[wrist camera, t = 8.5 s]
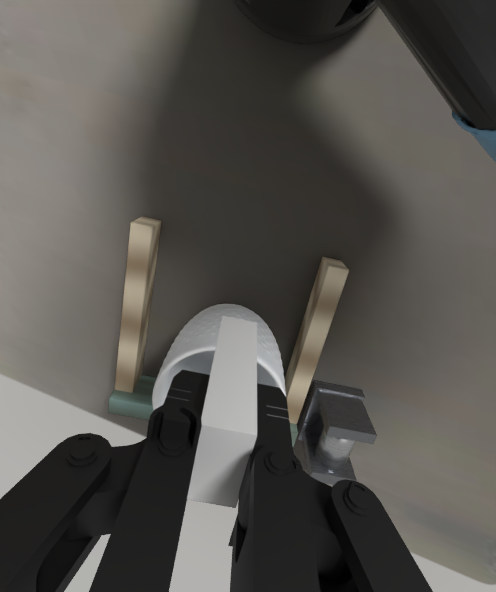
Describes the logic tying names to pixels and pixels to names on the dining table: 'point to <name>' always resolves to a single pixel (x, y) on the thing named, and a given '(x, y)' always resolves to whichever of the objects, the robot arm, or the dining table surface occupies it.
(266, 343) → the mug
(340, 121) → the dining table surface
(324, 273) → the bay
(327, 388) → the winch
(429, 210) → the dining table surface
